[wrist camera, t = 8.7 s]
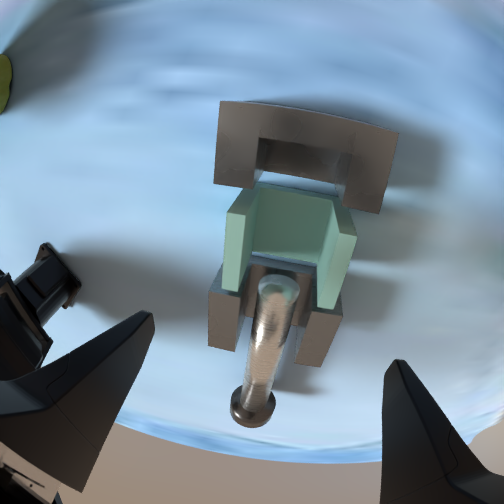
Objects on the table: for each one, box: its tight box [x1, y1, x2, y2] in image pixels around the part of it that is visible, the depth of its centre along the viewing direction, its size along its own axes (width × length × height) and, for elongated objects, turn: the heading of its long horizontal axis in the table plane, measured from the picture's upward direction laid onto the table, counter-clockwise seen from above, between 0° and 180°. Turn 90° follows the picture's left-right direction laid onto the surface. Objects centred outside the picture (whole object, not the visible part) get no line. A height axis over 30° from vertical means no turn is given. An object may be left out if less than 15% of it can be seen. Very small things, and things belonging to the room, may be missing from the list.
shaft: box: [230, 274, 300, 428], centre depth 22 cm, size 16×4×4 cm, turn 173°
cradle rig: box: [208, 101, 399, 367], centre depth 17 cm, size 16×8×5 cm, turn 173°
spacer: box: [222, 182, 358, 309], centre depth 16 cm, size 4×6×6 cm
